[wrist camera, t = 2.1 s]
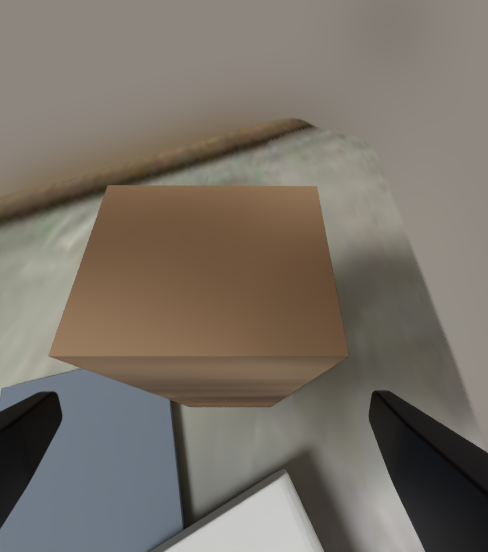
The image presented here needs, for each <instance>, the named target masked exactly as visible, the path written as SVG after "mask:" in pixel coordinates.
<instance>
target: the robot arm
mask: <svg viewBox="0 0 488 552" xmlns="http://www.w3.org/2000/svg"><path fill="white" fill-rule="evenodd" d="M62 417H63V414H62V409H61V405H60V401H59V396H58V394H57V393H56V392H54V391H41V392H38V393H36V394H34V395H32V396H30V397H28V398H26V399H24V400H22V401H20V402H18V403H16V404H14V405H12V406H10V407H8V408H6V409H4V410H2V411H0V529H1V527H2V526H3V524H4V523H5V521H6V520H7V518H8V516H9V515H10V513H11V512H12V510H13V509H14V507H15V505H16V504H17V502H18V501H19V499H20V498H21V496H22V494H23V493H24V491H25V489H26V488H27V486H28V484H29V483H30V481H31V479H32V477H33V476H34V474H35V472H36V470H37V468H38V466H39V464H40V462H41V461H42V459H43V457H44V455H45V453H46V451H47V449H48V447H49V445H50V444H51V442H52V440H53V438H54V436H55V434H56V432H57V430H58V428H59V426H60V424H61V422H62ZM369 421H370V424H371V427H372V430H373V432H374V435H375V438H376V440H377V443H378V446H379V448H380V451H381V454H382V457H383V459H384V462H385V465H386V467H387V470H388V473H389V475H390V478H391V480H392V482H393V485H394V487H395V489H396V491H397V493H398V495H399V498H400V500H401V502H402V504H403V506H404V508H405V510H406V512H407V514H408V516H409V518H410V520H411V523H412V525H413V527H414V529H415V531H416V533H417V535H418V537H419V539H420V541H421V543H422V546H423V548H424V550H425V552H488V453H487V452H486V451H484V450H482V449H481V448H479V447H478V446H476V445H474V444H473V443H471V442H470V441H468V440H466V439H465V438H463V437H462V436H460V435H458V434H457V433H455V432H454V431H452V430H450V429H449V428H447V427H446V426H444V425H443V424H441V423H439V422H438V421H436V420H435V419H433V418H431V417H430V416H428V415H427V414H425V413H423V412H422V411H420V410H419V409H417V408H415V407H414V406H412V405H411V404H409V403H408V402H406V401H404V400H403V399H401V398H400V397H398V396H396V395H395V394H393V393H392V392H390V391H386V390H381V391H374V392H373V393H372V397H371V403H370V409H369Z"/></svg>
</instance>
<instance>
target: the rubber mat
mask: <svg viewBox="0 0 488 552" xmlns="http://www.w3.org/2000/svg"><path fill="white" fill-rule="evenodd" d="M41 391H54V392H56V393H57V394H58V396H59V401H60V405H61V409H62V414H63V417H62V422H61V424H60V426H59V428H58V430H57V432H56V434H55V436H54V438H53V440H52V442H51V444H50V445H49V447H48V449H47V451H46V453H45V455H44V457H43V459H42V461H41V462H40V464H39V466H38V468H37V470H36V472H35V474H34V476H33V477H32V479H31V481H30V483H29V484H28V486H27V488H26V489H25V491H24V493H23V494H22V496H21V498H20V499H19V501H18V502H17V504H16V505H15V507H14V509H13V510H12V512H11V513H10V515H9V516H8V518H7V520H6V521H5V523H4V524H3V526H2V527H1V529H0V552H149V551H150V550H152V549H154V548H155V547H157V546H159V545H160V544H162V543H163V542H165V541H167V540H168V539H170V538H171V537H173V536H175V535H176V534H178V533H179V532H181V531H182V530H184V529H185V523H184V514H183V505H182V496H181V486H180V477H179V468H178V459H177V449H176V440H175V431H174V422H173V412H172V403H171V400H169V399H166V398H163V397H160V396H158V395H155V394H152V393H149V392H147V391H144V390H141V389H138V388H135V387H133V386H130V385H127V384H124V383H122V382H119V381H116V380H113V379H110V378H108V377H105V376H102V375H99V374H97V373H94V372H91V371H88V370H85V369H80V370H76V371H71V372H67V373H63V374H59V375H55V376H51V377H47V378H42V379H38V380H34V381H30V382H26V383H22V384H18V385H13V386H9V387H5V388H2V390H1V395H0V411H2V410H4V409H6V408H8V407H10V406H12V405H14V404H16V403H18V402H20V401H22V400H24V399H26V398H28V397H30V396H32V395H34V394H36V393H38V392H41Z"/></svg>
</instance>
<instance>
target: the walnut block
mask: <svg viewBox="0 0 488 552" xmlns="http://www.w3.org/2000/svg"><path fill="white" fill-rule="evenodd" d="M49 357H52V358H55V359H58V360H60V361H63V362H66V363H69V364H71V365H74V366H77V367H80V368H83V369H85V370H88V371H91V372H94V373H97V374H99V375H102V376H105V377H108V378H110V379H113V380H116V381H119V382H122V383H124V384H127V385H130V386H133V387H135V388H138V389H141V390H144V391H147V392H149V393H152V394H155V395H158V396H160V397H163V398H166V399H169V400H172V401H174V402H177V403H180V404H183V405H185V406H188V407H271V406H273V405H274V404H276V403H277V402H279V401H281V400H282V399H284V398H285V397H287V396H288V395H290V394H291V393H293V392H294V391H296V390H298V389H299V388H301V387H302V386H304V385H305V384H307V383H308V382H310V381H311V380H313V379H315V378H316V377H318V376H319V375H321V374H322V373H324V372H325V371H327V370H328V369H330V368H332V367H333V366H335V365H336V364H338V363H339V362H341V361H342V360H344V359H345V358H347V357H349V353H348V348H347V343H346V338H345V332H344V327H343V322H342V317H341V311H340V306H339V301H338V295H337V290H336V285H335V280H334V274H333V269H332V264H331V259H330V253H329V248H328V243H327V237H326V232H325V227H324V222H323V216H322V211H321V206H320V200H319V195H318V190H317V186H124V185H108V186H107V189H106V192H105V195H104V198H103V201H102V204H101V206H100V209H99V212H98V215H97V218H96V221H95V224H94V227H93V229H92V232H91V235H90V238H89V241H88V244H87V247H86V249H85V252H84V255H83V258H82V261H81V264H80V267H79V270H78V272H77V275H76V278H75V281H74V284H73V287H72V290H71V292H70V295H69V298H68V301H67V304H66V307H65V310H64V313H63V315H62V318H61V321H60V324H59V327H58V330H57V333H56V336H55V338H54V341H53V344H52V347H51V350H50V353H49Z"/></svg>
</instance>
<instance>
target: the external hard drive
mask: <svg viewBox="0 0 488 552" xmlns="http://www.w3.org/2000/svg"><path fill="white" fill-rule="evenodd" d="M149 552H324V550H323V548H322V546H321V544H320V541H319V539H318V537H317V535H316V533H315V531H314V528H313V526H312V524H311V522H310V520H309V518H308V516H307V514H306V511H305V509H304V507H303V505H302V503H301V500H300V498H299V496H298V494H297V492H296V490H295V487H294V485H293V483H292V481H291V479H290V477H289V475H288V473H287V471H286V470H285V469H280V470H278V471H276V472H274V473H273V474H271V475H270V476H268V477H267V478H265V479H263V480H262V481H260V482H259V483H257V484H255V485H254V486H252V487H251V488H249V489H247V490H246V491H245V492H243V493H241V494H240V495H238V496H236V497H235V498H233V499H232V500H230V501H228V502H227V503H225V504H224V505H222V506H221V507H219V508H217V509H216V510H214V511H213V512H211V513H210V514H208V515H206V516H205V517H203V518H201V519H200V520H198V521H197V522H195V523H194V524H192V525H190V526H189V527H187V528H186V529H184V530H182V531H181V532H179V533H178V534H176V535H175V536H173V537H171V538H170V539H168V540H167V541H165V542H163V543H162V544H160V545H159V546H157V547H155V548H154V549H152V550H150V551H149Z"/></svg>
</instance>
